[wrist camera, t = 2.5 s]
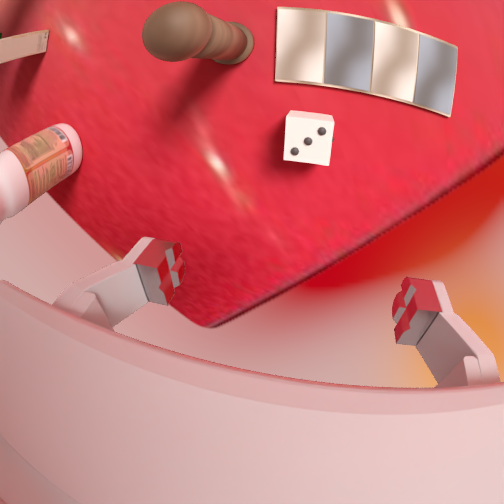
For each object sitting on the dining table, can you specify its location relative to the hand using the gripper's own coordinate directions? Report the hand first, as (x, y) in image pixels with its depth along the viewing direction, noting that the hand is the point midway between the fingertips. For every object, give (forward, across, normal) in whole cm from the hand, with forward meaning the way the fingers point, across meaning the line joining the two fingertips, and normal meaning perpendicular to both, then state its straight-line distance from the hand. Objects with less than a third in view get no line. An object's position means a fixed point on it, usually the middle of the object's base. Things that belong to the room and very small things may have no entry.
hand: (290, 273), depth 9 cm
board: (+24, -6, -10) cm, 26 cm away
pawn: (+24, +9, -10) cm, 27 cm away
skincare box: (+24, +43, -19) cm, 53 cm away
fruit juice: (+24, +38, +2) cm, 45 cm away
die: (+24, 0, 0) cm, 24 cm away
